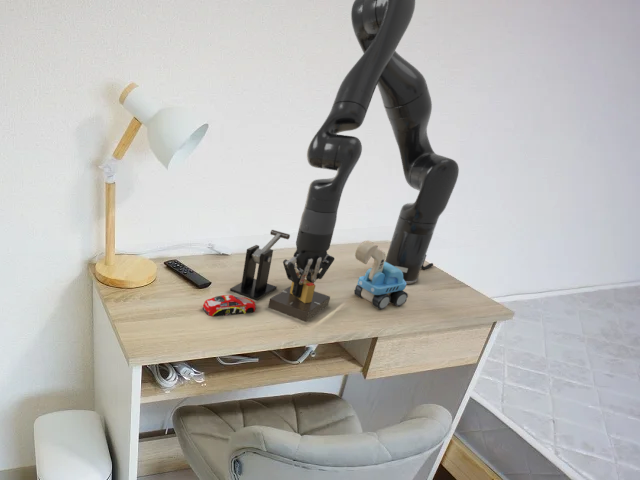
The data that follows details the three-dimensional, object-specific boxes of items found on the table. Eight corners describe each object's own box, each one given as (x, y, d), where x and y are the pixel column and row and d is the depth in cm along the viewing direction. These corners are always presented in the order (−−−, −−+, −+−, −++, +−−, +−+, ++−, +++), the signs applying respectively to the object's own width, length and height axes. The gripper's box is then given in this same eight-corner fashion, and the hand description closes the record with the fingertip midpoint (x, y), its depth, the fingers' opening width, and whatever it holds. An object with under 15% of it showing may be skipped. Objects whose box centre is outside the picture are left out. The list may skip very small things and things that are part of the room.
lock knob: (289, 292, 128) (293, 275, 125) (296, 291, 129) (300, 274, 126) (304, 303, 123) (308, 285, 121) (311, 302, 124) (315, 284, 121)
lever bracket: (250, 281, 140) (256, 240, 134) (276, 290, 136) (284, 248, 130) (229, 292, 134) (235, 250, 128) (255, 302, 130) (263, 259, 123)
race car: (249, 304, 129) (252, 290, 127) (258, 314, 124) (261, 300, 122) (200, 308, 126) (201, 294, 124) (207, 319, 122) (209, 304, 120)
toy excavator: (331, 300, 132) (348, 236, 123) (382, 291, 137) (401, 229, 128) (355, 315, 125) (374, 249, 116) (407, 305, 130) (429, 241, 121)
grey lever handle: (273, 234, 136) (272, 227, 135) (290, 239, 133) (290, 231, 132) (247, 260, 131) (247, 252, 130) (264, 265, 129) (264, 258, 127)
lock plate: (291, 294, 134) (293, 283, 132) (328, 307, 128) (331, 296, 127) (267, 309, 127) (269, 297, 125) (305, 324, 121) (308, 312, 119)
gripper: (330, 219, 121) (314, 285, 131) (281, 225, 117) (268, 292, 126) (352, 230, 115) (333, 298, 125) (301, 236, 111) (286, 306, 120)
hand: (301, 295), depth 125 cm, fingers closed on lock knob, 2 cm apart
